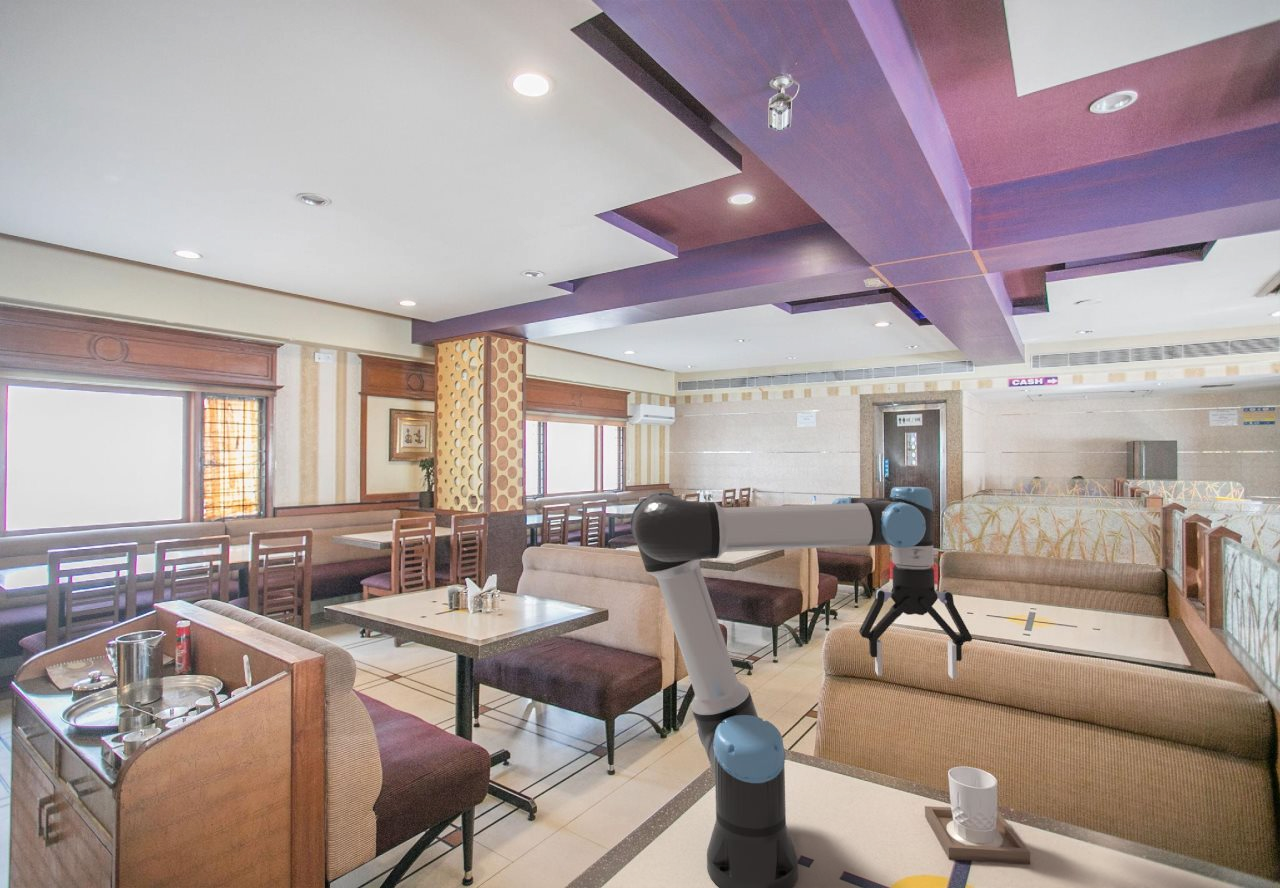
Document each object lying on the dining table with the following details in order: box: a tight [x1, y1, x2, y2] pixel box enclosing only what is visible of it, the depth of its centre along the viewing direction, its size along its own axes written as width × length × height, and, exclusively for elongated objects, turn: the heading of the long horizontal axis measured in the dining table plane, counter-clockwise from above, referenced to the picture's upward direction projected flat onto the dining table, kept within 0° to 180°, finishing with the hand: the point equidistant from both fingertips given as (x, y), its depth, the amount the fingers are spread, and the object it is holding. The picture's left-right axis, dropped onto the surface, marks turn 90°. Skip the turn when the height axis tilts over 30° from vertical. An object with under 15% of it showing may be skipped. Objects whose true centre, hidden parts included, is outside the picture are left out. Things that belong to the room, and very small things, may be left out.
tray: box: [924, 805, 1031, 865], centre depth 114 cm, size 13×13×2 cm
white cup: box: [947, 766, 998, 844], centre depth 114 cm, size 8×8×10 cm
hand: (915, 675), depth 123 cm, fingers open, 13 cm apart
